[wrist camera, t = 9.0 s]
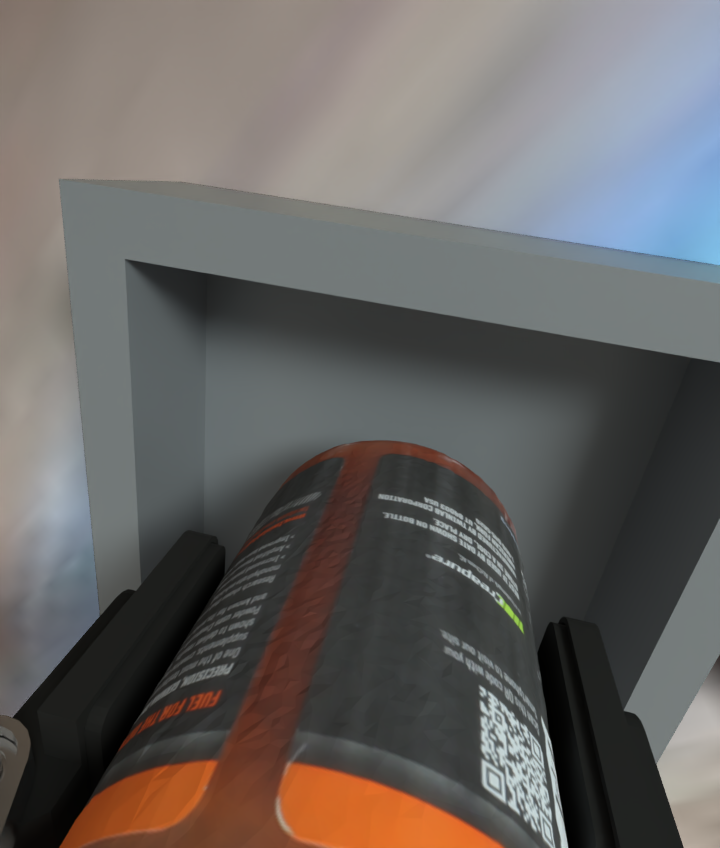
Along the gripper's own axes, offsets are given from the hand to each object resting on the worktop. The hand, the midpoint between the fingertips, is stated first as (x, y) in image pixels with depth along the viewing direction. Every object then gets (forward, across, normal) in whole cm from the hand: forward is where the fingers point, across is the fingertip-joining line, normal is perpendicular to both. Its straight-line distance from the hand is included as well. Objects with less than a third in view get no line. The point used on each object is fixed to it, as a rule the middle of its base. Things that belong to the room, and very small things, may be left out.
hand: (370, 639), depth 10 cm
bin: (+6, 0, 0) cm, 6 cm away
